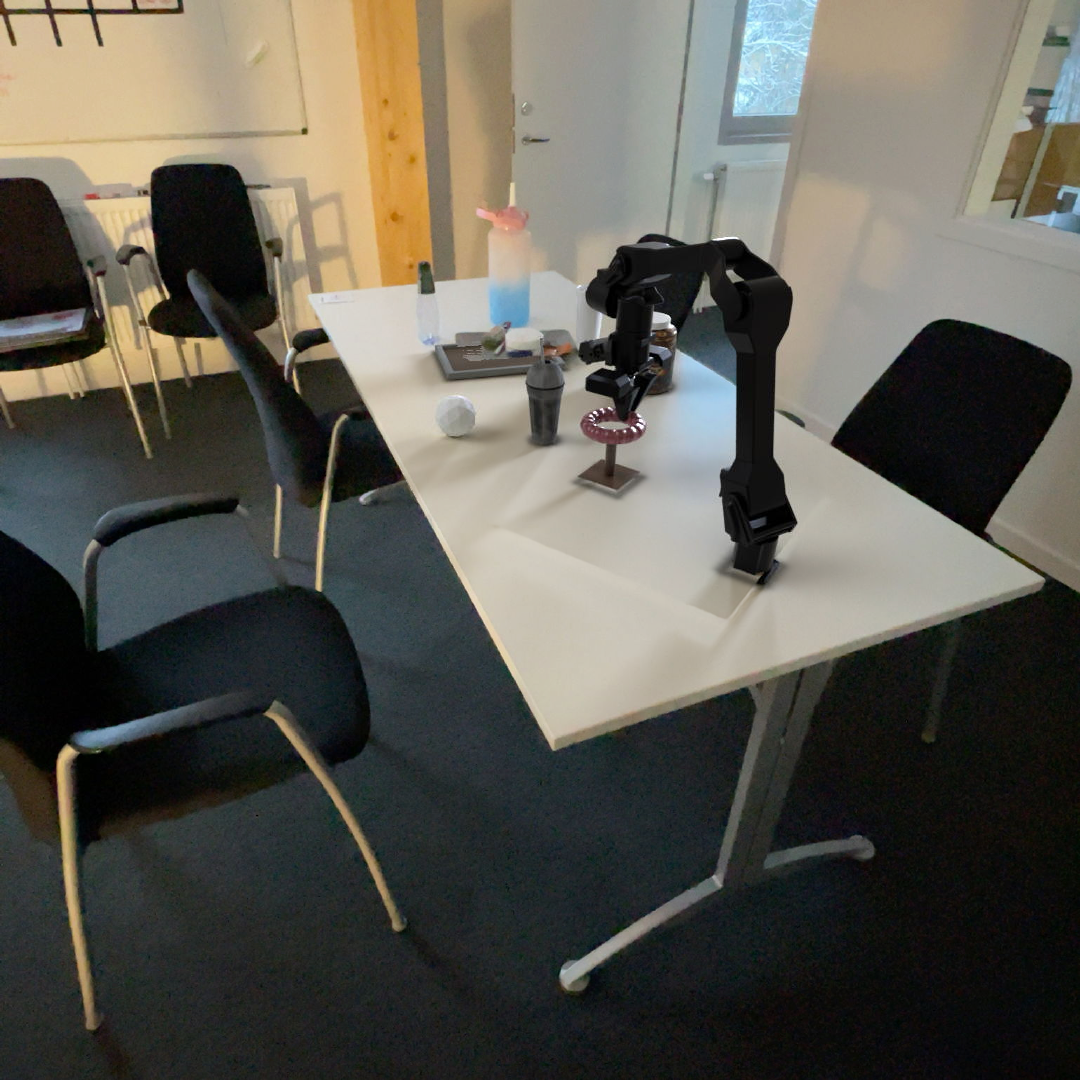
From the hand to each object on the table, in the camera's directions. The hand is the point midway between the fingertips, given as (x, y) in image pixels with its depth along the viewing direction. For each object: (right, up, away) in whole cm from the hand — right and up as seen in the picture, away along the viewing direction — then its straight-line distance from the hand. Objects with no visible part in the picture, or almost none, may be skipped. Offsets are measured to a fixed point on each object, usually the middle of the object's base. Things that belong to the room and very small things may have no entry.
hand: (625, 417), depth 126 cm
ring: (-2, -2, -3) cm, 4 cm away
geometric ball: (-31, 0, +17) cm, 35 cm away
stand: (-3, -10, +3) cm, 11 cm away
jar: (+9, +14, +39) cm, 42 cm away
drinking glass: (-3, +26, +57) cm, 63 cm away
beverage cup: (-14, -2, +16) cm, 21 cm away
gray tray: (-23, +22, +50) cm, 60 cm away
